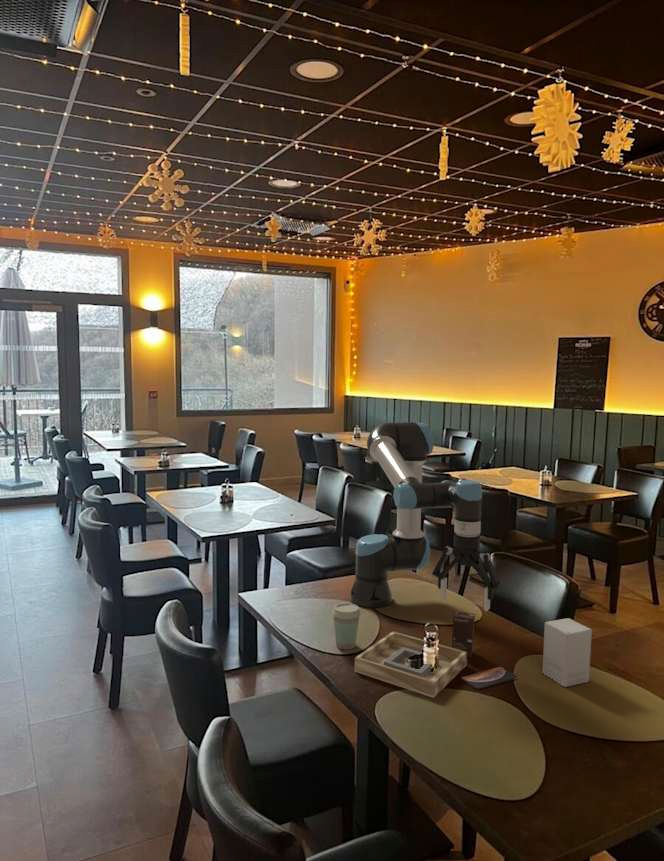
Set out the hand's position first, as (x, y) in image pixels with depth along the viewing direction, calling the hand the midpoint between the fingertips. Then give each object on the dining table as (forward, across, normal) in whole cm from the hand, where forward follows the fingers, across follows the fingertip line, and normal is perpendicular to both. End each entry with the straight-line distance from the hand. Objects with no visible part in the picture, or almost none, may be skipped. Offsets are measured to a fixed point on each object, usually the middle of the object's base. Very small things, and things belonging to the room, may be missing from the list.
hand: (464, 604), depth 188 cm
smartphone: (+16, +12, -10) cm, 22 cm away
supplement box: (+16, +29, +3) cm, 33 cm away
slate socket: (+15, -8, -17) cm, 24 cm away
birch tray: (+15, -8, -17) cm, 24 cm away
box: (+15, 0, 0) cm, 15 cm away
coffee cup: (+15, -31, -16) cm, 38 cm away
